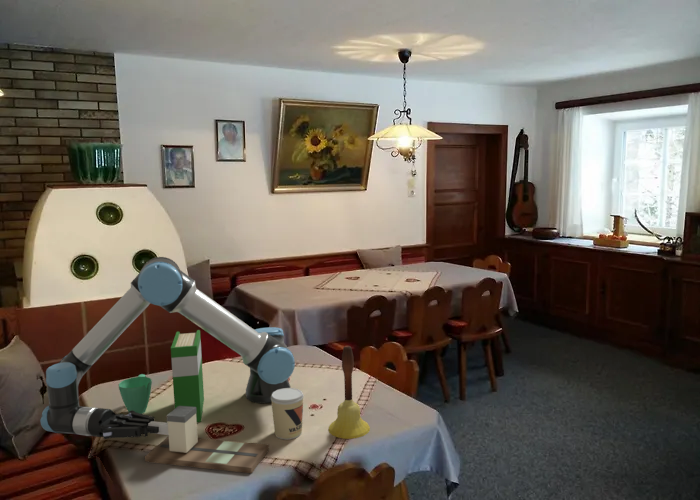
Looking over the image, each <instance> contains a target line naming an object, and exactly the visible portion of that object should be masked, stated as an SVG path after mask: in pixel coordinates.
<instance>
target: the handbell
mask: <svg viewBox="0 0 700 500" xmlns="http://www.w3.org/2000/svg"><path fill="white" fill-rule="evenodd" d="M342 348H343V350H342V354H341V369H342V373H343V376H344V400H343V401H342V402H340V404H339V405H338V406H337V412H336V414H337V417H336V419H335V420H334V421H332V422H331V423H330V424H329V426H328V430H327V431H328V432H329V433H328V434H330V435H332V436H333V437H334V438H335V437H336V438H338V439H343V440H345V439H346V440H347V439H348V440H349V439H350V440H351V439H359V438H362V437H364V436H366V435H367V434H369V432H370V431H371V427H370V425H369V423H368V422H367V421H365V420H363V418H362V417H361V407H360V405H359V404H358V403H357V402H355V401H354V400H353V376H352V375H353V371H354V354H353V350H352V347H351V345H344V346H343V347H342Z"/></svg>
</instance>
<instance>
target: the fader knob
mask: <svg viewBox="0 0 700 500" xmlns="http://www.w3.org/2000/svg"><path fill="white" fill-rule="evenodd" d="M196 413H197V411H196V407H189V406H178V407H177V408H175V407H174V409H173V410H172V411H170V412H169V413H168V414H167V415H166V422H167V423H168V434H169V435H168V436H169V449H170V451H175V452H184V453H187V452H188V451H189V450H190V449H191V448H192V447H193V446H194V445H195V444H196V443H197V442H198V438H199V437H198V424H197V423H198V422H197V419H196Z"/></svg>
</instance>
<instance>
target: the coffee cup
mask: <svg viewBox="0 0 700 500" xmlns="http://www.w3.org/2000/svg"><path fill="white" fill-rule="evenodd" d="M271 401H272V403H271V410H272V418H273V419H272V420H273V427H274V434H275V436H276V438H277V439H281V440H293V439H297V438H299V437H300V436H301V435H302V433H303V416H304V415H303V412H304V393H303V391H302V390H300V389H299V388H294V387H290V388H283V389H279V390H276V391H274V392H273V393H272V395H271Z"/></svg>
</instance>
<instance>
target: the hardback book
mask: <svg viewBox="0 0 700 500" xmlns="http://www.w3.org/2000/svg"><path fill="white" fill-rule="evenodd" d="M170 357H171V369H172V370H171V371H172V373H171V374H172V384H173V385H172V386H173V389H172V390H173V402H174V403H173V404H174V409H175V408H177V407H178V406H189V407H196V411H197V413H196V419H197V423H202V419H203V418H202V417H203V409H204V402H205V393H204V392H205V391H204V378H203V377H204V375H203V374H204V373H203V357H202V342H201V330H200V329H197V330H196V332H188V333H180V331H176V332H175V336H174V338H173V341H172V344H171V346H170Z"/></svg>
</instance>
